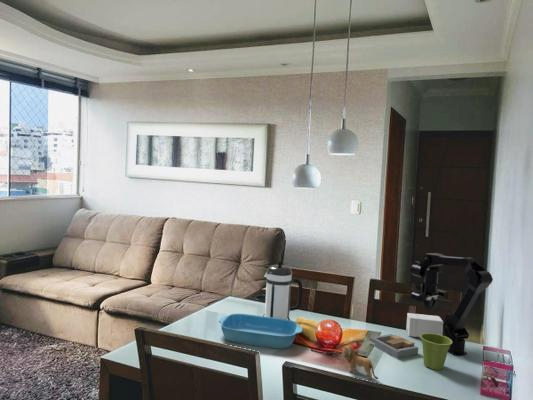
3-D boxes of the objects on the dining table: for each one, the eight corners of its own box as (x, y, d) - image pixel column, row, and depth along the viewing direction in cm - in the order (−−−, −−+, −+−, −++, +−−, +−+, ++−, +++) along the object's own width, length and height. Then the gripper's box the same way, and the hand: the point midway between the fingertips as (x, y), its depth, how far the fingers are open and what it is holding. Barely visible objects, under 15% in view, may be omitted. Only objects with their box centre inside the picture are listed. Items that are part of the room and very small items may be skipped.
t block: (413, 351, 185) (414, 342, 184) (398, 356, 179) (399, 346, 179) (394, 343, 193) (395, 334, 193) (379, 347, 187) (380, 338, 187)
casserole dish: (303, 335, 197) (304, 320, 197) (298, 354, 175) (299, 337, 175) (225, 325, 204) (226, 310, 203) (211, 343, 182) (212, 326, 182)
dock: (418, 354, 182) (419, 347, 182) (396, 359, 176) (397, 351, 176) (390, 340, 197) (390, 333, 197) (369, 343, 191) (369, 336, 191)
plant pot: (433, 375, 163) (436, 345, 163) (411, 361, 174) (413, 334, 173) (456, 371, 168) (459, 342, 167) (433, 358, 179) (436, 331, 178)
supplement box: (408, 336, 202) (442, 340, 200) (409, 317, 202) (443, 321, 199) (405, 330, 211) (438, 334, 208) (407, 312, 211) (439, 315, 208)
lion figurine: (338, 370, 163) (339, 346, 162) (344, 365, 167) (346, 342, 167) (375, 383, 154) (377, 358, 153) (381, 378, 158) (383, 353, 158)
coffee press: (284, 328, 204) (288, 265, 202) (255, 321, 212) (259, 260, 210) (301, 319, 218) (304, 260, 217) (273, 312, 227) (277, 256, 225)
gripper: (431, 275, 211) (429, 306, 212) (403, 277, 202) (400, 310, 203) (450, 280, 201) (447, 313, 202) (421, 283, 192) (418, 317, 193)
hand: (428, 313), depth 200 cm, fingers closed
